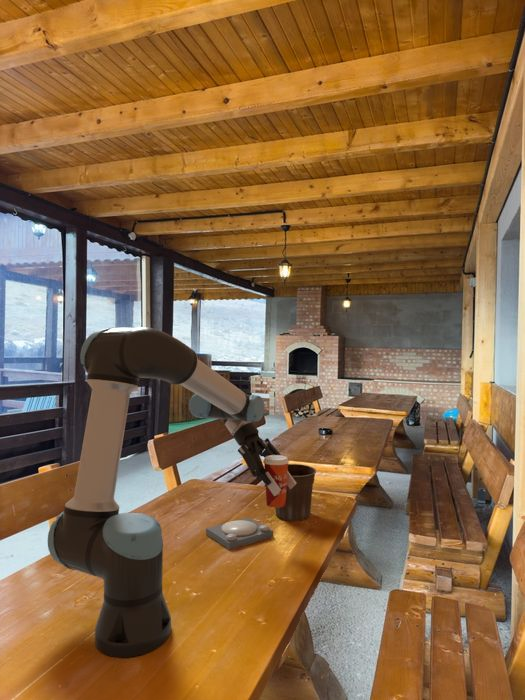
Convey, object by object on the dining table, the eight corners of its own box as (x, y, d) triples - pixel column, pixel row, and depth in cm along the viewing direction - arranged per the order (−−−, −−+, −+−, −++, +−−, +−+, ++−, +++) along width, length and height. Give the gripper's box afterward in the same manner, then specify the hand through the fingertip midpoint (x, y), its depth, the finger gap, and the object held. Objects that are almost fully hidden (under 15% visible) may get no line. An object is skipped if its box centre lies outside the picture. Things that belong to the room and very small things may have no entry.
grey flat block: (229, 549, 137) (229, 539, 137) (206, 534, 148) (206, 525, 148) (273, 536, 146) (273, 527, 146) (248, 523, 158) (248, 514, 158)
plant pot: (318, 524, 157) (318, 475, 157) (270, 523, 157) (269, 475, 157) (314, 507, 173) (314, 463, 173) (270, 507, 173) (270, 463, 173)
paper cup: (279, 510, 134) (279, 461, 134) (257, 505, 139) (257, 457, 139) (294, 503, 140) (294, 456, 140) (273, 498, 145) (273, 453, 145)
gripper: (255, 432, 157) (296, 488, 148) (214, 441, 140) (257, 506, 131) (268, 417, 154) (311, 474, 144) (227, 425, 137) (273, 490, 128)
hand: (285, 489), depth 138 cm, fingers closed on paper cup, 8 cm apart
